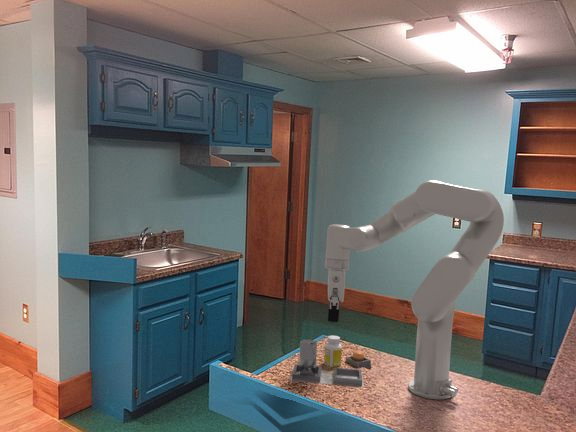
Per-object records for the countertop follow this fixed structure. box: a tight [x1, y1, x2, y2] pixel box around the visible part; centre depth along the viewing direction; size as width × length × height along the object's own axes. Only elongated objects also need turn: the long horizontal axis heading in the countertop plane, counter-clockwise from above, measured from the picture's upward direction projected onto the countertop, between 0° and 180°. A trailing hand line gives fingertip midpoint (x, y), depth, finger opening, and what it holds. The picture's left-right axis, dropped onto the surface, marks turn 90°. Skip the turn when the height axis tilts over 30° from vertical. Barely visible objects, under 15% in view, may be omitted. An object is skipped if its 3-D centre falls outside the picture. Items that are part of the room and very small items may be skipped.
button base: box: [345, 355, 372, 370], centre depth 159 cm, size 6×6×3 cm
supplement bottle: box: [323, 335, 343, 368], centre depth 157 cm, size 5×5×10 cm
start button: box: [352, 350, 365, 361], centre depth 159 cm, size 4×4×2 cm
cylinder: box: [298, 339, 318, 375], centre depth 146 cm, size 5×5×10 cm
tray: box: [290, 363, 365, 388], centre depth 146 cm, size 21×10×3 cm, turn 84°
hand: (333, 317), depth 156 cm, fingers open, 9 cm apart
